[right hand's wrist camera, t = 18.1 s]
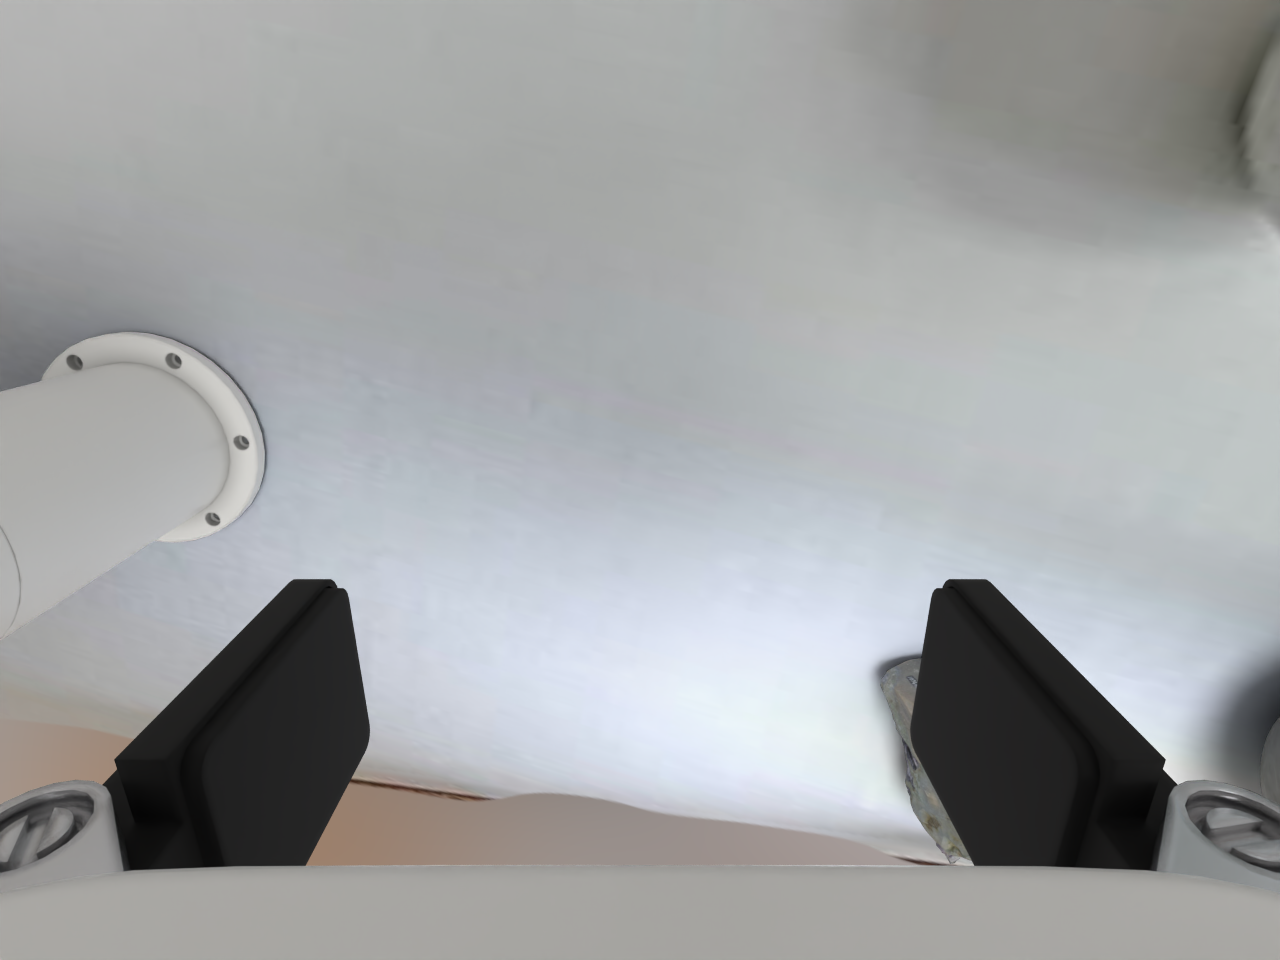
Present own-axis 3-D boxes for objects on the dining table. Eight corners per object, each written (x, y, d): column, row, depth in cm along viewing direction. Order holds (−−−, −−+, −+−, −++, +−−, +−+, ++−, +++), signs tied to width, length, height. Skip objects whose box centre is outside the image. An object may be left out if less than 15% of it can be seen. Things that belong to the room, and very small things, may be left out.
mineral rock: (952, 817, 51) (1023, 952, 41) (817, 783, 50) (858, 913, 40) (1039, 677, 47) (1140, 791, 37) (893, 635, 45) (959, 742, 36)
